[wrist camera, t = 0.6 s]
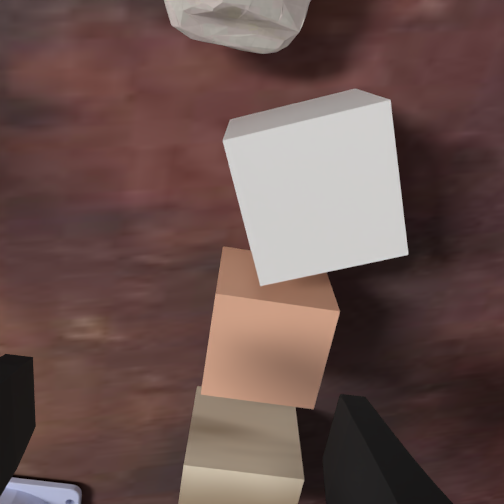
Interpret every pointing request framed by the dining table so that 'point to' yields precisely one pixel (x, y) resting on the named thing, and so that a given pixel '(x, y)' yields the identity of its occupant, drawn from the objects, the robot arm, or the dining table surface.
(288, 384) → the terracotta cube
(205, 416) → the birch cube
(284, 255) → the white cube
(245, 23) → the decorative stone
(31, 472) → the dining table surface
